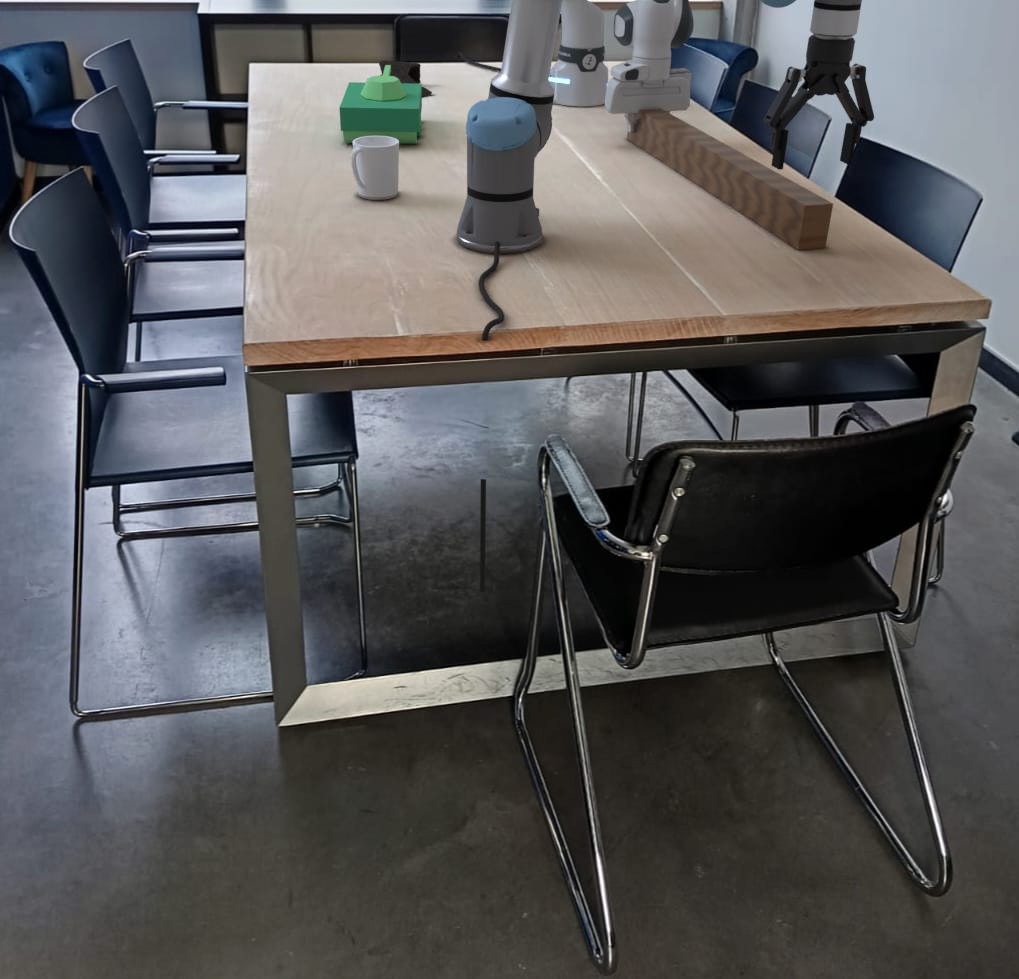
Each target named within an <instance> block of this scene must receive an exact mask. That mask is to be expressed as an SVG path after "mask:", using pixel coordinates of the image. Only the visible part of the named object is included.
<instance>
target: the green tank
mask: <svg viewBox="0 0 1019 979" xmlns="http://www.w3.org/2000/svg"><path fill="white" fill-rule="evenodd" d="M390 73H391V65H385V68H384V72H383V75H382V74H380V75H381V76H380V75H371V76H370V77H368V78H367V79H366V80H365V82H356V81H355V82H352V81H349V82H348V84H347V87H346V89H345V92H344V94H343V97H342V99H341V102H340V105H339V123H340V132H342V134H343V140H344V143H345V144H353V140H354V139H356V138H359V137H364V136H388V137H393V138H396V139H397V140H398V141H399V144H406V145H407V144H413V145H415V144H418V137H421V135H422V134H421V130H422V108H423V96H422V87H423V86H422V85H423V84H422V83H419V84H410V83H401V82H400V80H399V79H398V78H396V77H395V76H390Z"/></svg>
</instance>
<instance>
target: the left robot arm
mask: <svg viewBox="0 0 1019 979" xmlns="http://www.w3.org/2000/svg"><path fill="white" fill-rule="evenodd" d="M562 1H563V0H511V4H510V11H509V17H508V24H507V29H506V36H505V43H504V49H503V56H502V62H501V67H500V68H501V72H500V71H499V73H497V74H496V75H495V76H493V77H492V78H491V79H490V84H489V90H488V95H487V96H488V98H486V99H485V100H480V101H477V102H475V103H474V104H473V105H472V106H471V107H470V108H469V109H468V111H467V119H466V123H465V130H466V131H465V133H466V192H467V193H466V198H465V202H464V205H463V209H462V211H461V214H460V218H459V220H458V224H457V228H456V241H457V243H458V244H459V245H461V246H462V247H464V248H466V249H468V250H470V251H475V252H479V253H486V254H493V262H492V264H491V266H490V267H489V268H488V269H486V270H485V271H484V272H483V273H481V274H480V277H479V279H478V289H479V292H480V294H481V296H482V298H483V300H484V301H485V303H486V304H487V305H488V306H489V307H490V308H491V309H492V310H494V312H496V314H497V318H495V319H492V320H491V321H489V322H487V324H486V325H485V326H484V328H483V331H482V335H481V341H482V342H487V341H488V338H489V335H490V331H491V330H492V328H494V327H495V326H497V325H500V324H503V322H504V320H505V314H504V311H503V309H502V308H501V307H500V306H499V305H498V304H497V303H495V301H494V300H493V299H492V298H491V297H490V295H489V293H488V292H487V290H486V287H485V280H486V279H487V278H488V277H489V276H490V275H491V274H493V273H494V272H495V271H496V269H497V268H498V266H499V263H500V255H506V254H507V255H508V254H517V253H524V252H527V251H530V250H533V249H536V248H538V247H539V246H540V245H541V244H542V243H543V229H542V224H541V221H540V220H541V219H540V218H539V217H540V208H538V207H537V206H536V204H535V199H534V184H535V181H534V180H535V159H536V158H537V156H538V154H539V153H540V152H541V151H542V150H543V148H544V147H545V146H546V145H547V143H548V141H549V139H550V138H551V137H550V136H551V133H552V130H553V116H552V112H553V111H552V110H553V105H554V104H553V99H554V94H555V90H554V89H553V87H552V86H551V84H550V83H549V74H550V69H552V63H553V57H554V51H555V46H556V40H557V35H558V34H557V33H558V28H559V24H560V19H561V18H560V17H561V7H562ZM760 1H761V3H762V4H763V5H765V6H768V7H770V8H775V9H781V8H786V7H788V6H790V5H792V4H793V3H795V2H796V1H797V0H760ZM862 2H863V0H814V1H813V8H812V15H811V21H810V28H809V32H810V33H811V35H810V36H809V37H808V39H807V40H808V41H807V47H806V53H805V62H806V63H805V66H804V68H797V67H794V66H789V67H788V68H787V70H786V73H785V79H784V81H783V82H782V85H781V86H780V88H779V90H778V92H777V93H776V95H775V97H774V99H773V101H772V102H771V105H770V106H769V108H768V110H767V111H766V114H765V115H764V117H763V119H762V123H763V124H764V125H765V126H768V127H770V128H771V129H772V130H771V139H770V148H772V149H773V150H772V151H773V152H772V160H771V167H773V168H775V169H777V170H778V171H779V170H784V164H785V159H786V158H785V157H786V151H787V144H788V136H789V130H788V129H786V128H787V126H788V125H789V124H790V123H791V122H792V120H794V118H795V117H796V116H797V115H798V114H799V112H800V111H801V110H802V109H803V107H804V106H805V105H806V104H807V102H808V101H809V100H811V99H813V98H814V97H815V96H818V97H820V96H821V97H823V96H825V95H829V96H836V97H837V99H838V101H839V103H840V105H841V106H842V108H843V110H844V111H845V114H846V115H847V117H848V119H849V121H850V122H846V124H845V128H844V134H843V140H842V145H841V151H840V157H839V162H842V163H844V164H845V165H848V166H849V165H852V164H853V160H854V154H855V150H856V145H858V144H859V142H860V140H861V133H862V129H863V128H864V127H866V126H867V124H868V122H872V121H874V119H875V115H874V109H873V105H872V101H871V97H870V94H869V89H868V84H867V80H866V77H867V76H866V75H867V67H866V66H865V65H862V64H859V63H854V64H853V65H852V66H851V64H850V63H851V62H852V61H853V55H854V51H855V44H856V40H855V38H854V37H853V36H855V35H857V33H858V28H859V21H860V15H861V7H862ZM849 78H850V79H851V84H852V88H853V92H854V95H855V99H856V100H854V98H853V97H852V95H851V94H850V89H849V88H848V86H847V84H846V83H845V82H846V81H847V80H848V79H849ZM802 81H803V82H802ZM800 82H802V84H801V85H799V84H800ZM798 85H799V87H798ZM797 88H798V89H797ZM796 90H797V92H796V93H795V91H796ZM794 93H795V94H794ZM793 95H794V96H793ZM855 101H856V102H855ZM479 503H480V505H479V506H480V509H479V510H480V512H479V514H480V516H479V517H480V519H479V520H480V521H479V522H480V524H479V525H480V528H479V532H480V533H479V592H480V593H486V540H487V539H486V536H487V533H486V531H487V530H486V529H487V528H486V526H487V525H486V524H487V522H486V521H487V519H486V518H487V479H485V478H480V502H479Z"/></svg>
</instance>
